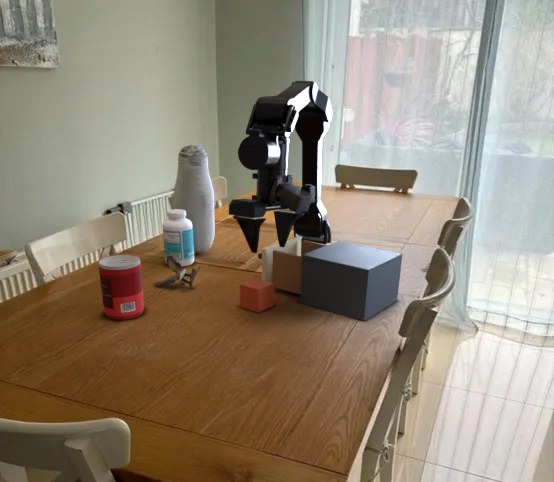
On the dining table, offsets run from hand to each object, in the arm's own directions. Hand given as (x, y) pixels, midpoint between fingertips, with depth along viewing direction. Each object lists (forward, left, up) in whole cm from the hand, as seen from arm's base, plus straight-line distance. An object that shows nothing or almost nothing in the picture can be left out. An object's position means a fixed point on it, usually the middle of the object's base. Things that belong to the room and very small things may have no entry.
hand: (268, 249), depth 109 cm
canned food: (-20, -21, -13) cm, 32 cm away
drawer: (-3, +14, -12) cm, 18 cm away
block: (-2, -1, -12) cm, 13 cm away
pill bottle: (-36, +9, -13) cm, 39 cm away
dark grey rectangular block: (+11, +14, -12) cm, 22 cm away
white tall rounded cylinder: (-40, +19, -13) cm, 46 cm away
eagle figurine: (-24, -3, -13) cm, 28 cm away
